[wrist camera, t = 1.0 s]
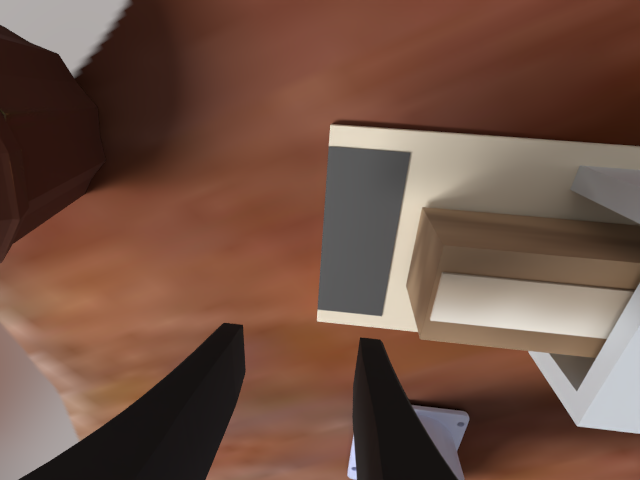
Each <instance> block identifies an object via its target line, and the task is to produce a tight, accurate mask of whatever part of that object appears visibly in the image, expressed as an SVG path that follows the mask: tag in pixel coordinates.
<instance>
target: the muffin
mask: <svg viewBox="0 0 640 480" xmlns="http://www.w3.org/2000/svg"><path fill="white" fill-rule="evenodd" d="M105 161H106V159H105V155H104V151H103V146H102V142H101V138H100V131H99V116H98V107H97V106H96V105H95V104H94V103H93V101H92V100H91V99H90V98H89V97H88V95H87V94H86V93H85V92H84V91H83V90H82V88H81V87H80V86H79V85H78V84H77V82H76V81H75V79H74V78H73V76H72V74H71V73H70V71H69V70H68V68H67V67H66V65H65V63H64V62H63V61H62V59H61V57H60V56H59V54H57V53H54V52H52V51H49V50H47V49H44V48H42V47H39V46H37V45H34V44H32V43H30V42H28V41H26V40H25V39H23V38H21V37H20V36H18V35H16V34H15V33H13V32H12V31H10V30H8V29H7V28H5V27H3V26H1V25H0V263H2V261H3V260H4V258H5V256H6V254H7V253H8V251H9V249H10V248H11V246H12V244H13V243H15V242H16V241H18V240H19V239H21V238H22V237H23V236H25V235H26V234H28V233H29V232H31V231H32V230H34V229H35V228H36V227H38V226H39V225H41V224H42V223H44V222H45V221H47V220H48V219H49V218H51V217H52V216H54V215H55V214H57V213H58V212H60V211H61V210H62V209H64V208H65V207H67V206H68V205H70V204H71V203H73V202H74V201H75V200H77V199H78V198H80V197H81V196H83V195H84V194H85V192H86V190H87V188H88V186H89V184H90V182H91V179H92V177H93V176H94V174H95V173H96V172H97V171H98V170H99V168H100V167H101V166H102V165H103V164H104V162H105Z"/></svg>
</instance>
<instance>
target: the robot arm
mask: <svg viewBox="0 0 640 480" xmlns="http://www.w3.org/2000/svg"><path fill="white" fill-rule="evenodd" d="M244 375H245V354H244V336H243V325H239V324H230V323H223V324H222V325H221V326H220V327H219V328H218V329H217V330H216V331H215V332H214V333H213V334H211V335H210V336H209V337H208V338H207V339H206V340H205V341H204V342H203V343H202V344H201V345H200V346H199V347H198V348H197V349H196V350H195V351H194V352H193V353H192V354H191V355H189V356H188V357H187V358H186V359H185V360H184V361H183V362H182V363H181V364H180V365H178V366H177V367H176V368H175V369H174V370H173V371H172V372H171V373H169V374H168V375H167V376H166V377H165V378H164V379H162V380H161V381H160V382H159V383H158V384H156V385H155V386H154V387H153V388H152V389H150V390H149V391H148V392H147V393H146V394H144V395H143V396H142V397H141V398H139V399H138V400H137V401H136V402H134V403H133V404H132V405H130V406H129V407H128V408H127V409H125V410H124V411H123V412H121V413H120V414H119V415H117V416H116V417H114V418H113V419H112V420H110V421H109V422H108V423H106V424H105V425H103V426H102V427H101V428H99V429H98V430H96V431H95V432H93V433H92V434H90V435H89V436H87V437H86V438H84V439H83V440H81V441H80V442H78V443H77V444H75V445H74V446H72V447H71V448H69V449H68V450H66V451H65V452H63V453H61V454H60V455H58V456H57V457H55V458H54V459H52V460H51V461H49V462H48V463H46V464H44V465H42V466H41V467H39V468H37V469H36V470H34V471H32V472H31V473H29V474H27V475H25V476H24V477H22V478H20V479H19V480H205V479H206V477H207V475H208V472H209V470H210V467H211V465H212V462H213V460H214V457H215V455H216V453H217V450H218V448H219V445H220V443H221V440H222V438H223V436H224V433H225V431H226V428H227V426H228V423H229V421H230V418H231V416H232V414H233V411H234V408H235V406H236V403H237V400H238V397H239V393H240V390H241V386H242V383H243V379H244ZM468 422H469V416H468V414H467V413H466V412H465V411H459V410H450V409H442V408H433V407H425V406H416V405H411V403H410V401H409V399H408V397H407V396H406V394H405V392H404V390H403V388H402V386H401V384H400V382H399V380H398V378H397V376H396V374H395V371H394V369H393V367H392V365H391V362H390V360H389V358H388V355H387V353H386V350H385V348H384V345H383V343H382V341H381V340H378V339H369V338H360V342H359V349H358V356H357V363H356V370H355V377H354V384H353V432H354V434H353V440H352V447H351V453H350V459H349V465H348V477H349V478H351V479H357V480H465V479H464V475H463V472H462V468H461V465H460V461H459V457H458V454H457V450H458V448H459V445H460V443H461V440H462V438H463V435H464V433H465V430H466V427H467V425H468Z"/></svg>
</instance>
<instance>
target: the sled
mask: <svg viewBox="0 0 640 480" xmlns="http://www.w3.org/2000/svg"><path fill="white" fill-rule="evenodd" d="M639 283H640V225H628V224H616V223H604V222H593V221H581V220H569V219H557V218H546V217H534V216H522V215H510V214H499V213H487V212H475V211H463V210H451V209H440V208H428V207H422V210H421V215H420V220H419V225H418V230H417V234H416V239H415V244H414V249H413V254H412V259H411V263H410V268H409V273H408V278H407V283H406V288H407V291H408V295H409V299H410V303H411V307H412V310H413V314H414V318H415V322H416V326H417V329H418V333H419V337H420V339H422V340H432V341H441V342H450V343H460V344H469V345H478V346H488V347H497V348H506V349H516V350H525V351H535V352H544V353H553V354H563V355H572V356H581V357H591V358H597V356H598V354H599V352H600V351H601V349H602V347H603V345H604V344H605V342H606V340H607V339H608V337H609V335H610V333H611V332H612V330H613V328H614V326H615V325H616V323H617V321H618V320H619V318H620V316H621V314H622V313H623V311H624V309H625V307H626V306H627V304H628V302H629V300H630V299H631V297H632V295H633V294H634V292H635V290H636V288H637V287H638V285H639Z"/></svg>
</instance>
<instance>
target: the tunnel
mask: <svg viewBox="0 0 640 480" xmlns="http://www.w3.org/2000/svg"><path fill="white" fill-rule="evenodd" d="M422 207H428V208H440V209H451V210H463V211H475V212H487V213H499V214H510V215H522V216H534V217H546V218H557V219H569V220H581V221H593V222H604V223H616V224H628V225H640V146H629V145H615V144H601V143H588V142H574V141H560V140H546V139H532V138H518V137H505V136H491V135H477V134H463V133H449V132H435V131H422V130H408V129H394V128H380V127H366V126H352V125H339V124H331V125H330V139H329V152H328V166H327V181H326V195H325V210H324V224H323V239H322V253H321V268H320V282H319V297H318V313H317V321H320V322H329V323H339V324H348V325H358V326H367V327H377V328H386V329H396V330H405V331H414V332H418V329H417V326H416V322H415V318H414V314H413V310H412V307H411V303H410V299H409V295H408V291H407V288H406V283H407V278H408V273H409V268H410V263H411V259H412V254H413V249H414V244H415V239H416V234H417V230H418V225H419V220H420V215H421V210H422ZM528 352H529V354H530V355H531V357H532V358H533V360H534V361H535V363H536V364H537V366H538V367H539V369H540V370H541V372H542V373H543V375H544V377H545V378H546V380H547V381H548V383H549V384H550V386H551V387H552V389H553V390H554V392H555V393H556V395H557V396H558V398H559V399H560V401H561V402H562V404H563V406H564V407H565V409H566V410H567V412H568V413H569V415H570V416H571V418H572V419H573V421H574V422H575V424H576V425H577V426H579V427H587V428H596V429H604V430H613V431H621V432H629V433H638V434H640V283H639V285H638V287H637V288H636V290H635V292H634V294H633V295H632V297H631V299H630V300H629V302H628V304H627V306H626V307H625V309H624V311H623V313H622V314H621V316H620V318H619V320H618V321H617V323H616V325H615V326H614V328H613V330H612V332H611V333H610V335H609V337H608V339H607V340H606V342H605V344H604V345H603V347H602V349H601V351H600V352H599V354H598V356H597V358H591V357H581V356H572V355H563V354H553V353H544V352H535V351H528Z"/></svg>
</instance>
